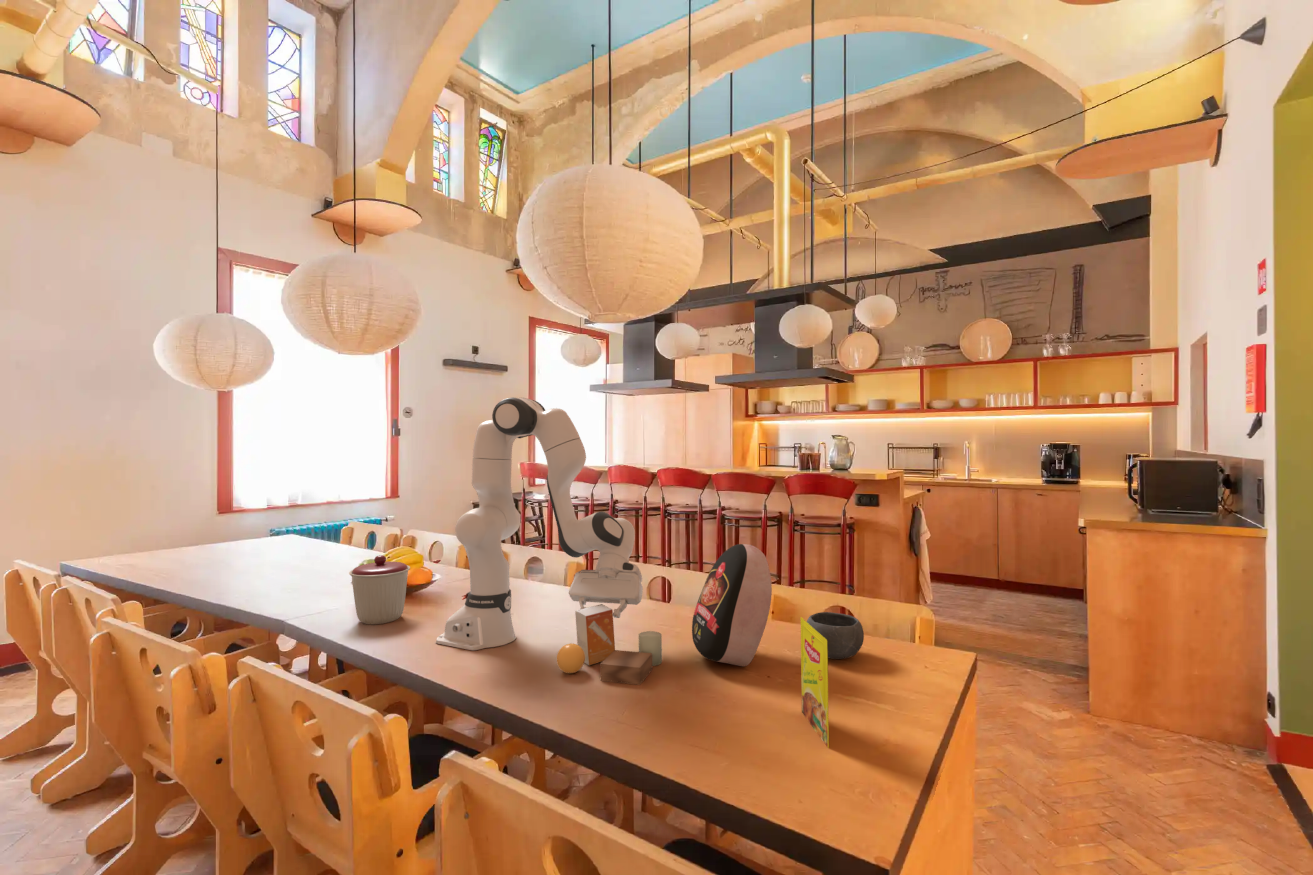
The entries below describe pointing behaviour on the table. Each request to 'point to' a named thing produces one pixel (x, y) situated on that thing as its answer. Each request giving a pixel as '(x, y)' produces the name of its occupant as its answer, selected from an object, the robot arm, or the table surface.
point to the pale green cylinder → (651, 645)
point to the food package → (815, 680)
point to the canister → (379, 590)
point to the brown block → (626, 667)
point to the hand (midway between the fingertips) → (599, 615)
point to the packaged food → (733, 606)
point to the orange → (570, 658)
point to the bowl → (838, 633)
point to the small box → (595, 632)
